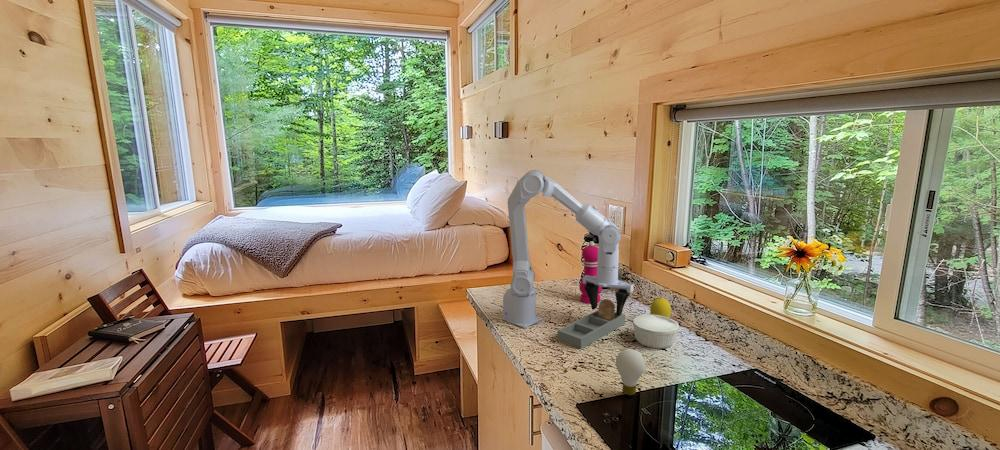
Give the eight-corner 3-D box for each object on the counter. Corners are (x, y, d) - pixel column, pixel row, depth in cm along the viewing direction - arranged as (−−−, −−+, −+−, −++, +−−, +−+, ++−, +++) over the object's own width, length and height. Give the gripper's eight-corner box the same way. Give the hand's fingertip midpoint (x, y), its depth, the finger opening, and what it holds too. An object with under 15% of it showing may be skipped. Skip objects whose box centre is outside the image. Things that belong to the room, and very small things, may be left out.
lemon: (671, 328, 126) (673, 301, 124) (650, 327, 127) (652, 300, 125) (668, 320, 131) (670, 294, 129) (648, 319, 132) (649, 293, 131)
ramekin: (684, 340, 119) (685, 321, 118) (666, 355, 111) (667, 335, 110) (644, 328, 126) (644, 310, 125) (624, 342, 118) (625, 323, 117)
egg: (595, 322, 129) (596, 300, 128) (602, 317, 132) (603, 295, 131) (610, 325, 126) (610, 303, 125) (616, 320, 130) (617, 299, 128)
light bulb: (610, 387, 97) (612, 344, 95) (637, 386, 98) (639, 343, 96) (620, 403, 91) (621, 358, 89) (648, 401, 92) (650, 356, 90)
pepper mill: (604, 299, 149) (606, 240, 145) (597, 306, 143) (598, 244, 139) (584, 295, 153) (585, 237, 149) (575, 302, 147) (576, 242, 143)
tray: (557, 340, 120) (557, 330, 119) (602, 316, 135) (602, 307, 134) (580, 349, 115) (581, 339, 114) (624, 323, 129) (625, 314, 129)
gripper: (577, 264, 127) (577, 309, 130) (626, 273, 118) (625, 322, 121) (589, 259, 133) (588, 302, 135) (637, 267, 124) (635, 313, 127)
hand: (606, 311), depth 129 cm, fingers open, 7 cm apart
